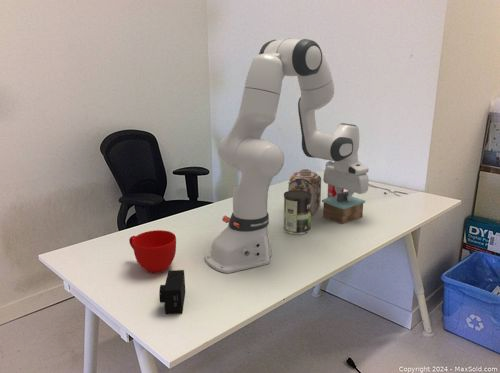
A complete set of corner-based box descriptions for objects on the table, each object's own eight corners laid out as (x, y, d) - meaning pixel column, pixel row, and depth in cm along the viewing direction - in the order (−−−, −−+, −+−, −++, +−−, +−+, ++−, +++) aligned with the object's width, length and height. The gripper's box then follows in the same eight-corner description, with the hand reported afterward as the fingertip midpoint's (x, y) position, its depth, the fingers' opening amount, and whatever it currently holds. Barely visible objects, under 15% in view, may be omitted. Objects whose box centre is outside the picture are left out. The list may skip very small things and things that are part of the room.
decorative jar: (314, 217, 166) (316, 174, 161) (287, 213, 170) (287, 172, 165) (320, 207, 177) (322, 167, 171) (294, 204, 181) (295, 165, 175)
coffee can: (311, 225, 158) (312, 190, 154) (309, 235, 149) (310, 199, 144) (284, 223, 160) (285, 189, 156) (281, 233, 151) (282, 197, 146)
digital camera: (165, 292, 113) (164, 270, 111) (185, 291, 113) (184, 269, 111) (160, 315, 103) (158, 290, 101) (182, 314, 103) (180, 289, 101)
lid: (342, 212, 155) (343, 200, 153) (321, 204, 163) (322, 192, 162) (365, 205, 162) (365, 193, 160) (343, 198, 170) (344, 186, 169)
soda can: (345, 199, 186) (346, 174, 183) (339, 204, 181) (341, 178, 177) (330, 197, 190) (331, 172, 186) (324, 201, 184) (326, 176, 181)
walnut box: (341, 225, 157) (342, 208, 155) (322, 218, 165) (323, 201, 163) (362, 218, 164) (363, 202, 162) (343, 211, 172) (344, 196, 169)
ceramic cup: (146, 252, 137) (144, 224, 134) (186, 264, 128) (184, 235, 125) (116, 269, 126) (113, 239, 123) (158, 283, 118) (155, 251, 115)
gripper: (320, 161, 164) (319, 193, 168) (361, 171, 148) (358, 207, 152) (331, 159, 168) (329, 191, 172) (372, 169, 152) (369, 204, 156)
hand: (343, 198), depth 162 cm, fingers open, 3 cm apart
